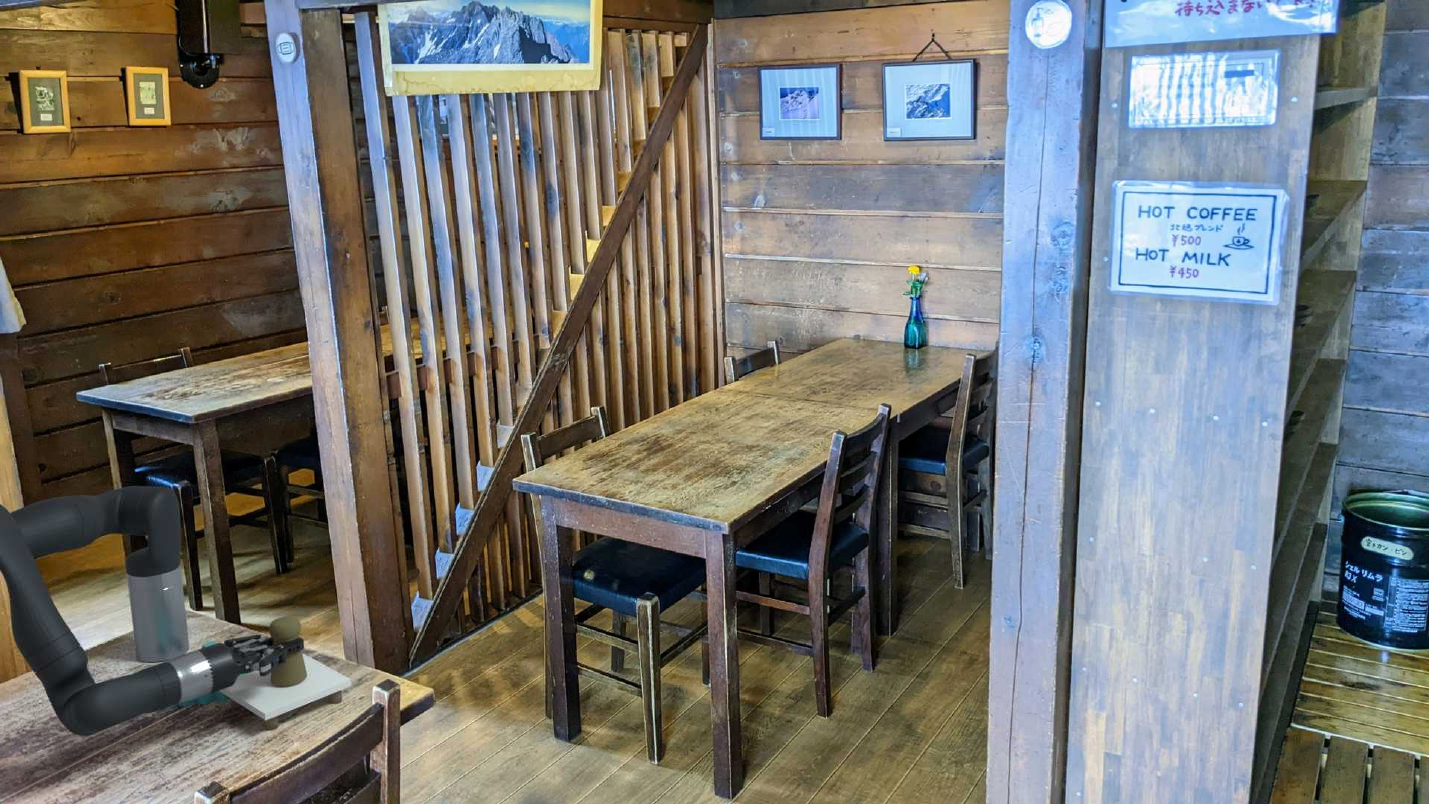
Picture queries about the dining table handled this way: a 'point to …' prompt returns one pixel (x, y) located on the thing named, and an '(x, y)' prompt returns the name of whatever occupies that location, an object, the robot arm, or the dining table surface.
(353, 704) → the dining table surface
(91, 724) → the robot arm
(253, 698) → the peg shelf
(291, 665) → the cork
